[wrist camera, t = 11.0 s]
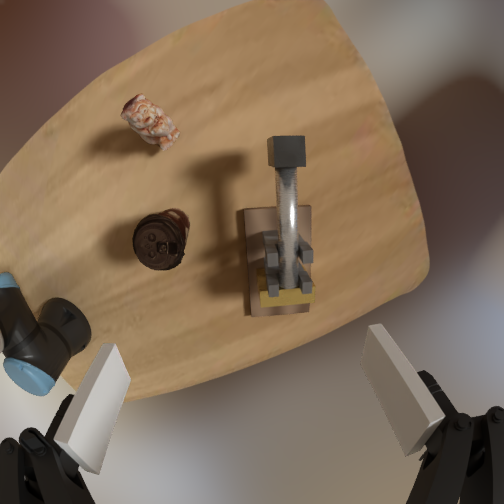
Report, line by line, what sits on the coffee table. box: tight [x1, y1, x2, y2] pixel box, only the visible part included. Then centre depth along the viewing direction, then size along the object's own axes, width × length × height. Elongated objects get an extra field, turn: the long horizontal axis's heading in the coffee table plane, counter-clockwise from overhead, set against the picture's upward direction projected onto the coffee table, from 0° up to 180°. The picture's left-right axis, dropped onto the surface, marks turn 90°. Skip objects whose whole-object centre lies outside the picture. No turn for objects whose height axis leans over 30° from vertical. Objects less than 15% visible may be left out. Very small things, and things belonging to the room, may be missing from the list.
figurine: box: [121, 93, 180, 150], centre depth 36 cm, size 6×8×15 cm
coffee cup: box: [133, 208, 190, 270], centre depth 43 cm, size 9×8×13 cm
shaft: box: [267, 136, 306, 289], centre depth 39 cm, size 4×22×7 cm, turn 3°
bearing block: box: [244, 205, 313, 317], centre depth 47 cm, size 12×22×13 cm, turn 3°
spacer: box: [256, 265, 315, 308], centre depth 48 cm, size 9×3×9 cm, turn 93°
